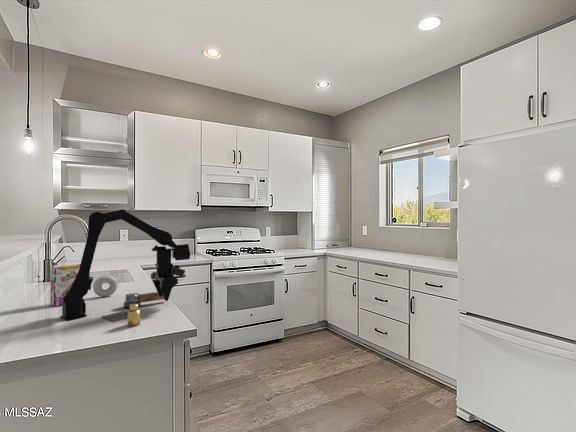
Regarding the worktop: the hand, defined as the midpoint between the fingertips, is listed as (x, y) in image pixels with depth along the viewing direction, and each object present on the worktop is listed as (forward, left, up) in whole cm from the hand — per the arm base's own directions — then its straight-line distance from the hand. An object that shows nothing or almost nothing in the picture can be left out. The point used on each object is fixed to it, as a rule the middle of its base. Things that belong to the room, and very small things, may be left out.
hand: (163, 298), depth 137 cm
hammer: (-3, +8, -3) cm, 9 cm away
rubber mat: (-18, +2, -3) cm, 18 cm away
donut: (-6, +35, -3) cm, 35 cm away
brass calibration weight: (-20, -11, -3) cm, 23 cm away
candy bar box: (-21, +37, -3) cm, 42 cm away
